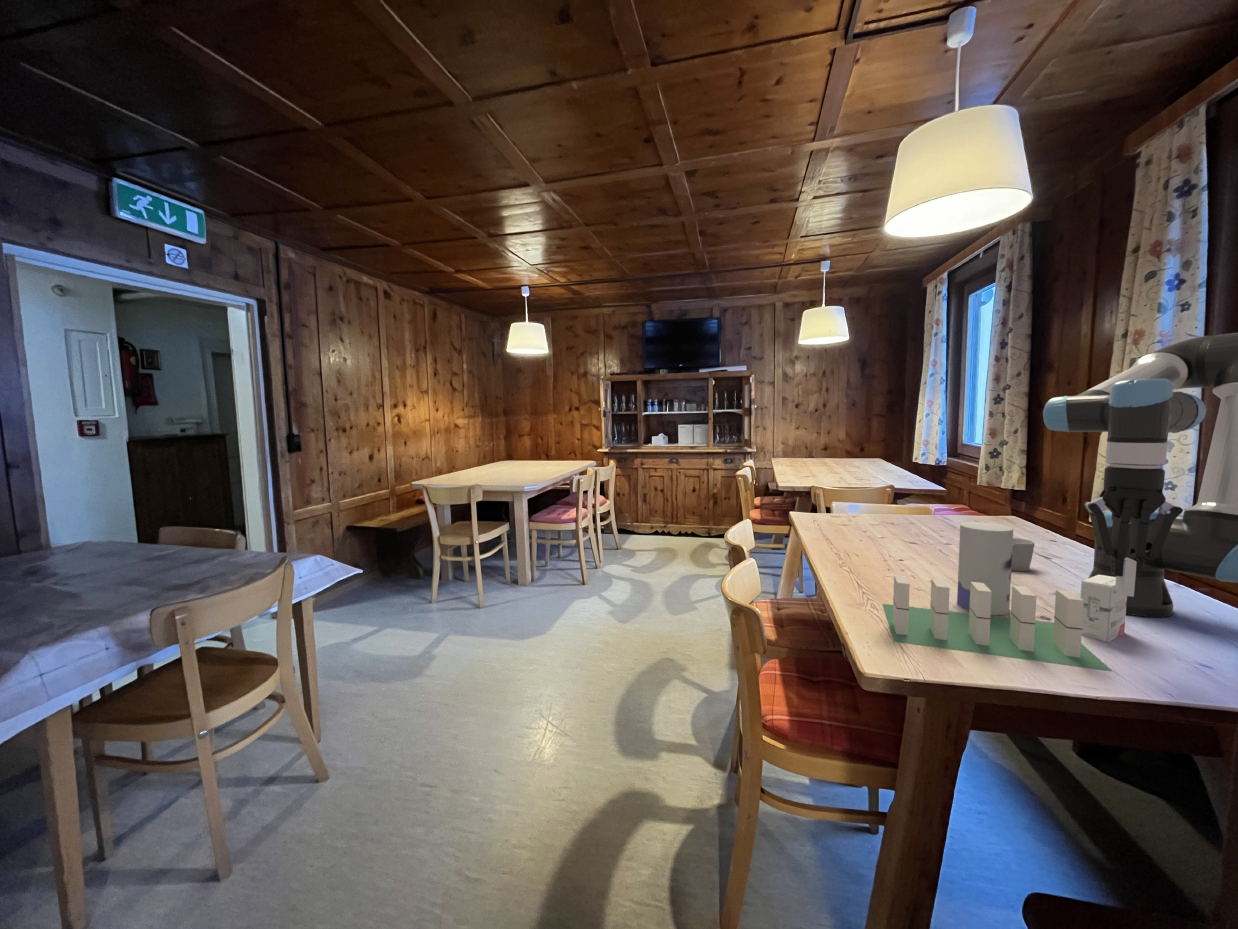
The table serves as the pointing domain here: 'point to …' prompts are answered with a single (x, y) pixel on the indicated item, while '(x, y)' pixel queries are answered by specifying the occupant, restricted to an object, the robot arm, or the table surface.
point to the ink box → (1102, 608)
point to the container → (985, 563)
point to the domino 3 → (979, 613)
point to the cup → (1022, 554)
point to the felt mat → (997, 640)
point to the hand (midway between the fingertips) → (1124, 593)
